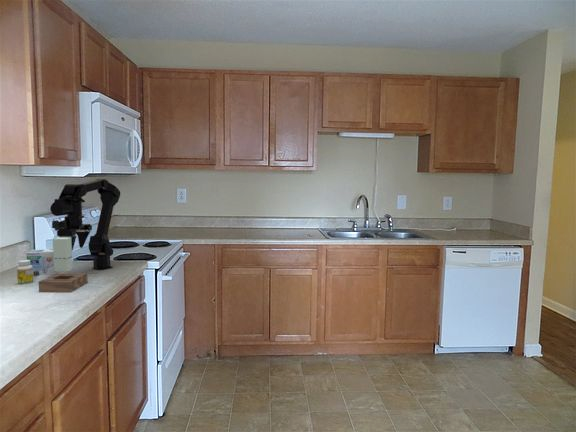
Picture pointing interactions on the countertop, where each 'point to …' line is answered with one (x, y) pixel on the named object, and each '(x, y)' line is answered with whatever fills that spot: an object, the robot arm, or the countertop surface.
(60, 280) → the brown stepped stand
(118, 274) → the countertop surface
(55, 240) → the stub
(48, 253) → the light bulb box
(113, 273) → the countertop surface
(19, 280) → the supplement bottle
